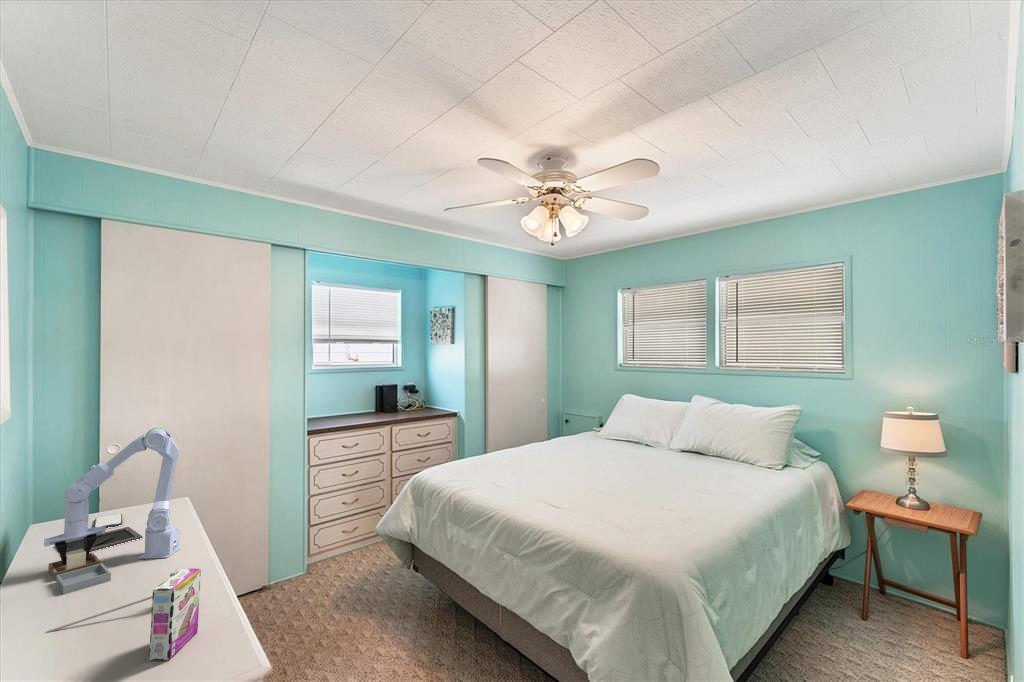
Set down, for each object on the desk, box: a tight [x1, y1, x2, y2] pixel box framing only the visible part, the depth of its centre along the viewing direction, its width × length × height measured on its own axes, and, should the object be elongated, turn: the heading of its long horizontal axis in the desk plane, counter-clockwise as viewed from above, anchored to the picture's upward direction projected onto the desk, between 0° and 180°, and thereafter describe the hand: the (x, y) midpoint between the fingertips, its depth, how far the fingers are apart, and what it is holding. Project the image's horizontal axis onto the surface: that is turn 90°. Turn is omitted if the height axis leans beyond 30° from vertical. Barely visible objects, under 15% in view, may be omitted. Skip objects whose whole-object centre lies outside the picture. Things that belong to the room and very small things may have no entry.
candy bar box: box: [148, 568, 202, 662], centre depth 112 cm, size 11×5×16 cm, turn 5°
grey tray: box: [55, 562, 112, 595], centre depth 142 cm, size 11×11×2 cm
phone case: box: [93, 513, 124, 528], centre depth 190 cm, size 9×2×16 cm
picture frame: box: [66, 526, 143, 553], centre depth 171 cm, size 16×2×21 cm
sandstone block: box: [64, 549, 86, 570], centre depth 150 cm, size 4×4×5 cm
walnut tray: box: [47, 552, 102, 582], centre depth 149 cm, size 11×11×2 cm
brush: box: [46, 569, 179, 634], centre depth 124 cm, size 4×27×9 cm, turn 118°
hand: (74, 561), depth 150 cm, fingers closed on sandstone block, 4 cm apart
